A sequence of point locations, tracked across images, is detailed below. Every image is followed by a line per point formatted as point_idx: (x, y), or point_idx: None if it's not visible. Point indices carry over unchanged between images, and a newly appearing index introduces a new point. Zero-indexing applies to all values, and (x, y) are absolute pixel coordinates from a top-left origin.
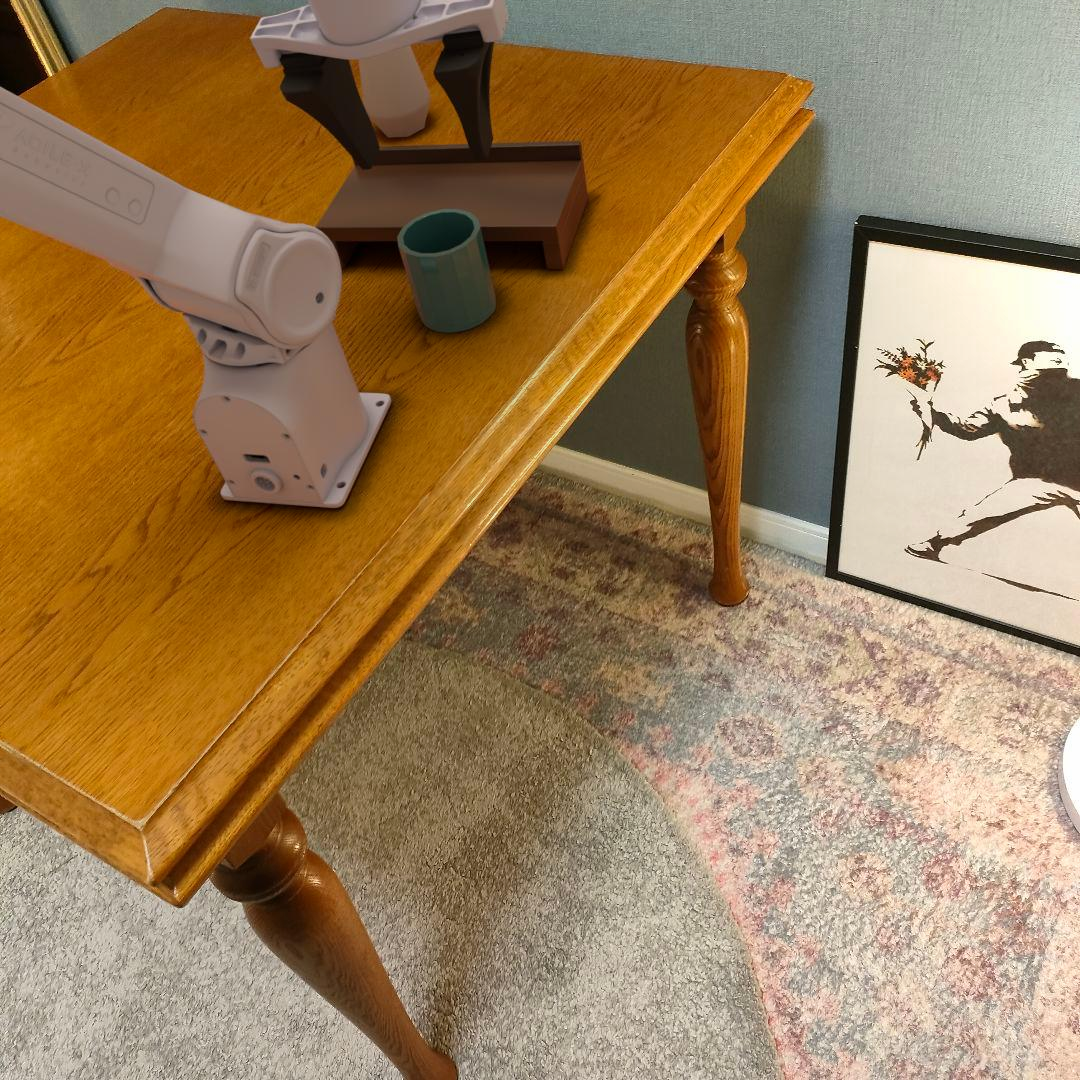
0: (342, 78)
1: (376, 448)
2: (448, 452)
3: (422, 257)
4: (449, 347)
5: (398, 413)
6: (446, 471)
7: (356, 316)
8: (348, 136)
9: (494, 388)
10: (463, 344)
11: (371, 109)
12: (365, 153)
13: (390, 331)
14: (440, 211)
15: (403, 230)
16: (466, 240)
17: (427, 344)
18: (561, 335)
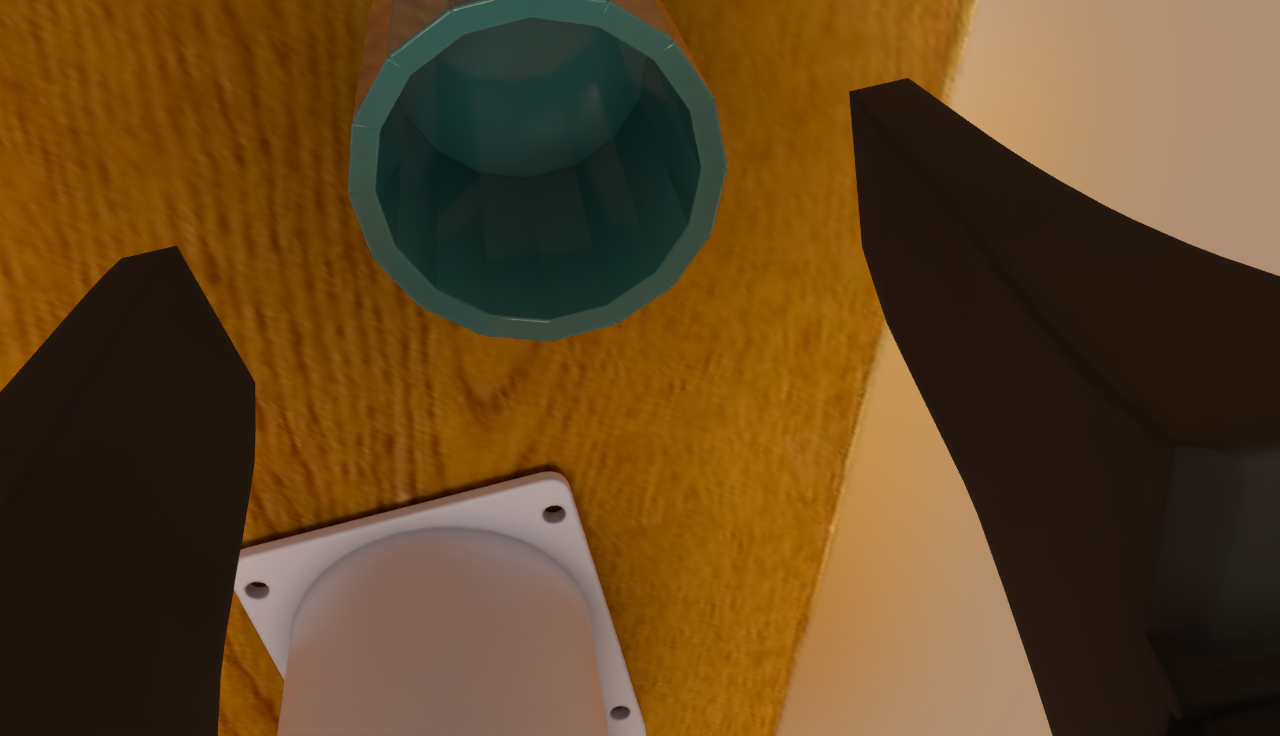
0: (57, 712)
1: (612, 587)
2: (795, 540)
3: (566, 335)
4: None
5: (599, 488)
6: (816, 581)
7: (160, 194)
8: (225, 613)
9: (818, 335)
10: None
11: None
12: (238, 439)
13: (347, 224)
14: (454, 33)
15: (368, 210)
16: (698, 198)
17: None
18: (940, 72)
